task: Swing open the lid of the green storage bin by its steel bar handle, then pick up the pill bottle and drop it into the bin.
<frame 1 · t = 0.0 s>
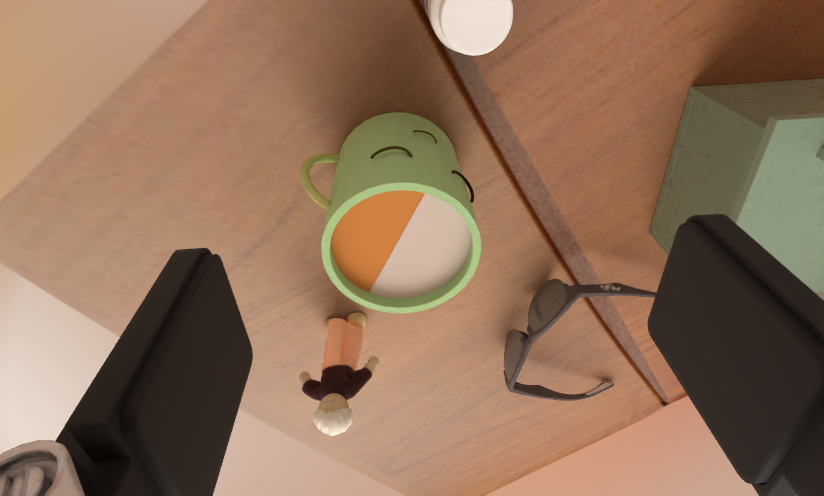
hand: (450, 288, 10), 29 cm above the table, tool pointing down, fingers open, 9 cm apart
sunglasses: (583, 327, 52), on the table
green storage bin: (734, 162, 41), on the table
grandmother figurine: (341, 323, 50), on the table
mug: (384, 162, 40), on the table
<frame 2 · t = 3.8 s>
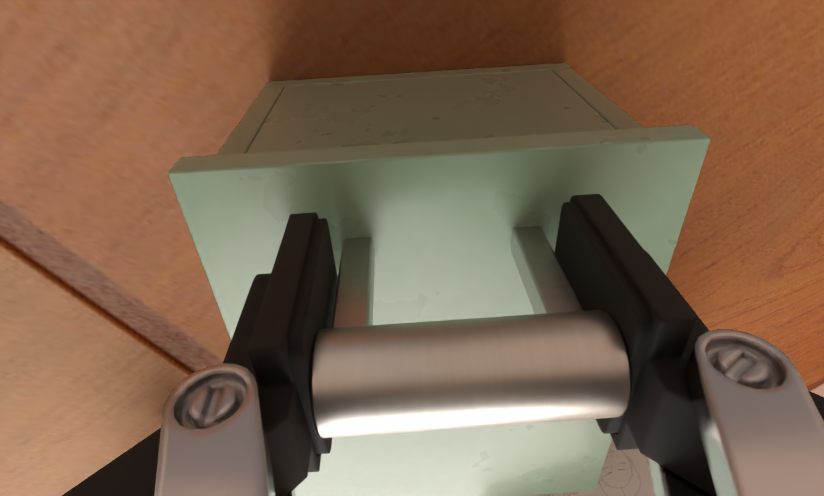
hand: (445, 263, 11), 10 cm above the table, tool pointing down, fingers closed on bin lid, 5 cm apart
bin lid: (452, 439, 13), point 12 cm above the table, hinge at 0.0°, touching gripper
small box: (540, 387, 30), on the table
green storage bin: (423, 220, 22), on the table
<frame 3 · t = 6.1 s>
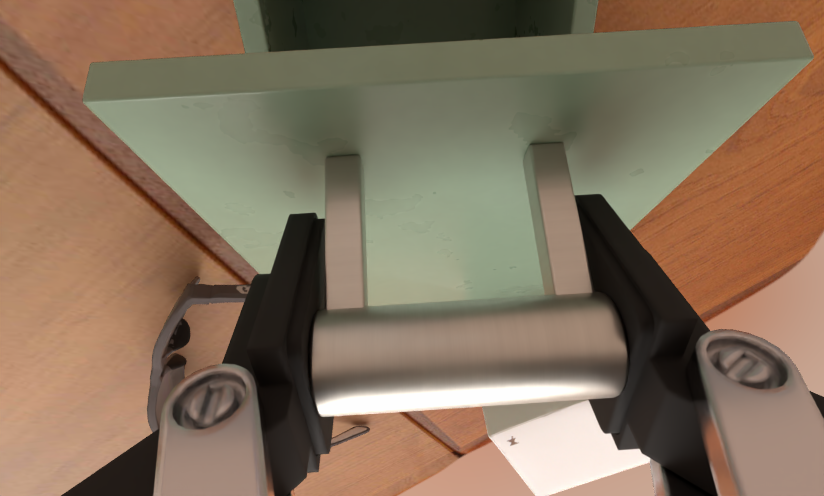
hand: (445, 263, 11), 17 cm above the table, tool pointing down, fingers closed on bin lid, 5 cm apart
bin lid: (441, 310, 13), point 15 cm above the table, hinge at 35.7°, touching gripper
small box: (524, 271, 32), on the table
sunglasses: (291, 350, 36), on the table
green storage bin: (413, 83, 25), on the table
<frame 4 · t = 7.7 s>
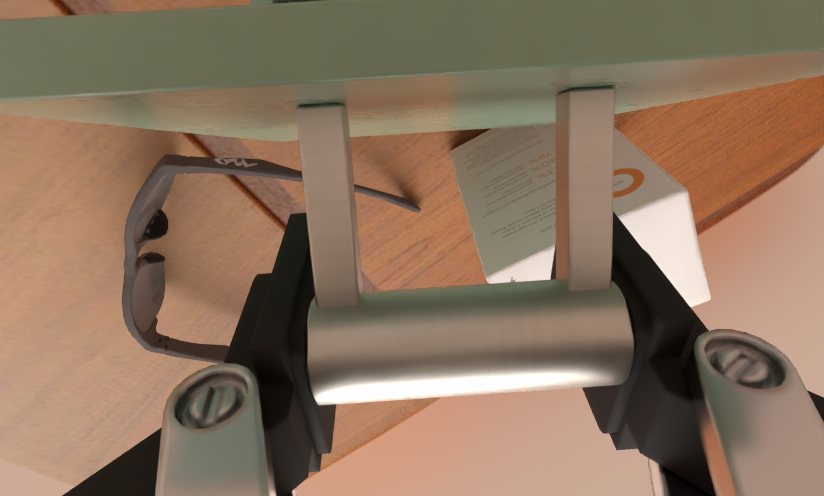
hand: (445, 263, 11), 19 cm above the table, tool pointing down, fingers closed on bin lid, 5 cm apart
bin lid: (436, 199, 12), point 17 cm above the table, hinge at 67.1°, touching gripper
small box: (524, 159, 30), on the table
sunglasses: (278, 253, 34), on the table
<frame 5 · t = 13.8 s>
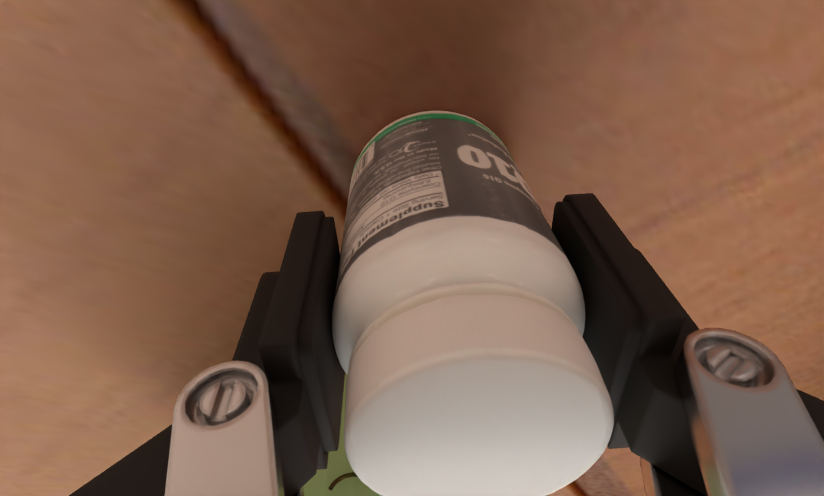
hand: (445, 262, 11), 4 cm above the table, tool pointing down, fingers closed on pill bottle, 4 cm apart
pill bottle: (431, 181, 14), on the table, touching gripper
mug: (301, 435, 21), on the table
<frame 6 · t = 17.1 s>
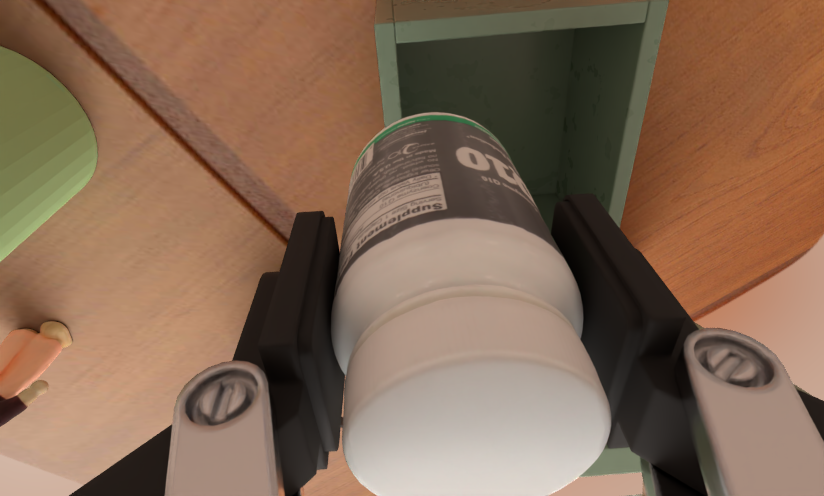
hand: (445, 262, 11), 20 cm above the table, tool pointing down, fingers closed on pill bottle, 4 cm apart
pill bottle: (430, 182, 14), point 16 cm above the table, touching gripper
bin lid: (547, 395, 19), point 17 cm above the table, hinge at 67.8°
green storage bin: (481, 108, 30), on the table
grandmother figurine: (41, 336, 39), on the table
when the fingers open (10 cm above the table, at t = 20.4 s): pill bottle drops 5 cm, resting on green storage bin.
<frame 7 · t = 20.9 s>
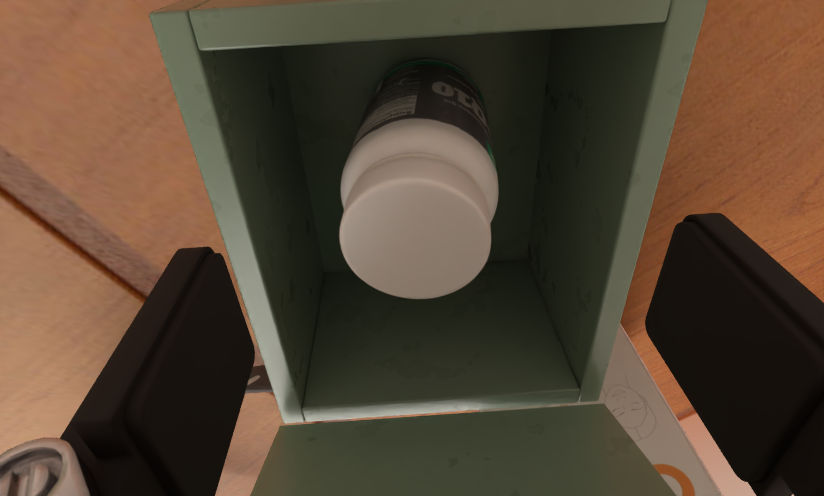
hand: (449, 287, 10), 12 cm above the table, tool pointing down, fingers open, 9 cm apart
pill bottle: (426, 113, 19), point 1 cm above the table, touching green storage bin
small box: (545, 341, 28), on the table
sunglasses: (281, 422, 32), on the table
green storage bin: (420, 144, 21), on the table
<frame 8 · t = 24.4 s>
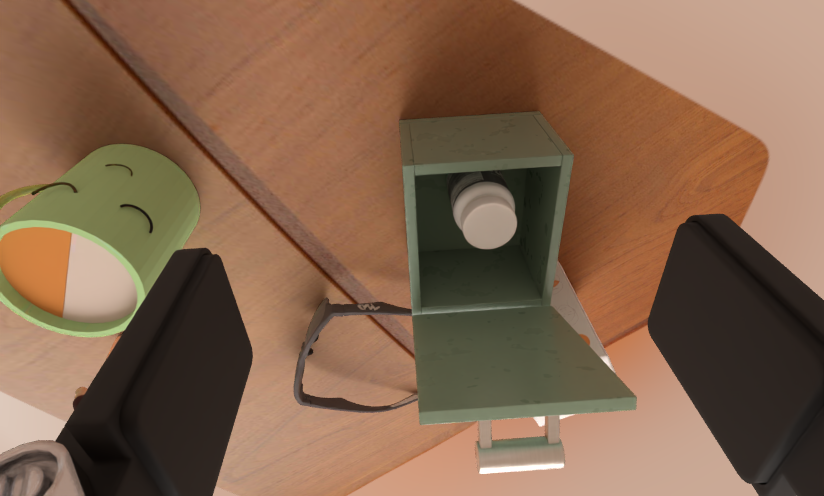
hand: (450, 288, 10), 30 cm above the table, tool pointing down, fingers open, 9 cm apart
pill bottle: (472, 175, 41), point 1 cm above the table, touching green storage bin
bin lid: (501, 384, 33), point 17 cm above the table, hinge at 67.8°
small box: (530, 292, 51), on the table
sunglasses: (376, 342, 54), on the table
green storage bin: (467, 188, 43), on the table
mug: (126, 189, 42), on the table
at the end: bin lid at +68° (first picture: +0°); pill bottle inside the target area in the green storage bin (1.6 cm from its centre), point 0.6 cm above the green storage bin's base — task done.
